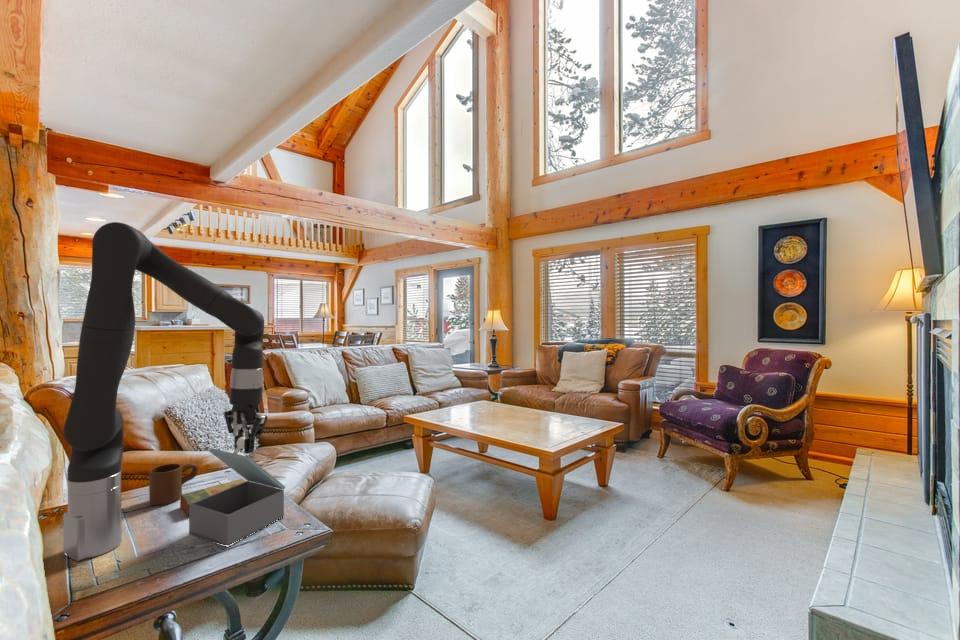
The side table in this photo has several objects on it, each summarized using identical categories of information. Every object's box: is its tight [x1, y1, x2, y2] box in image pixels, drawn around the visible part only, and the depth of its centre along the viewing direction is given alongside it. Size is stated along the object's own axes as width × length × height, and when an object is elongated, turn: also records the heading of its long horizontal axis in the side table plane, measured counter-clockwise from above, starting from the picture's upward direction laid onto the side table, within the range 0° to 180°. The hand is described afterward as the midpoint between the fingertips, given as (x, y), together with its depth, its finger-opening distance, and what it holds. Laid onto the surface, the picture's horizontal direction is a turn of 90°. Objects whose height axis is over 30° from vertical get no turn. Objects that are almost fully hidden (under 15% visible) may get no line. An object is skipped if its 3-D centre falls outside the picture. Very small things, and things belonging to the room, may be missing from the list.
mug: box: [148, 462, 199, 506], centre depth 126 cm, size 12×8×9 cm, turn 139°
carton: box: [179, 478, 246, 518], centre depth 123 cm, size 8×16×4 cm, turn 136°
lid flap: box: [209, 436, 286, 490], centre depth 114 cm, size 16×14×6 cm
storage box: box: [188, 480, 285, 545], centre depth 110 cm, size 16×14×8 cm
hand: (244, 451), depth 111 cm, fingers closed on lid flap, 3 cm apart
